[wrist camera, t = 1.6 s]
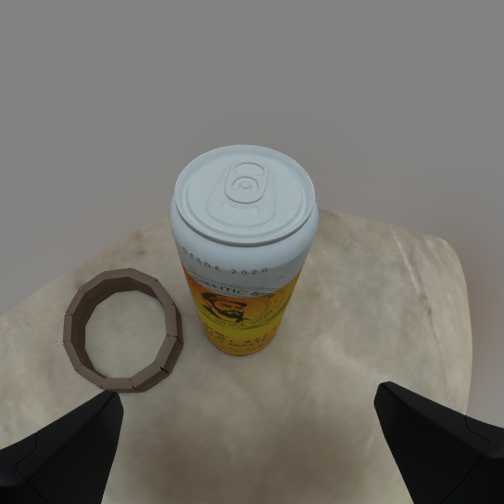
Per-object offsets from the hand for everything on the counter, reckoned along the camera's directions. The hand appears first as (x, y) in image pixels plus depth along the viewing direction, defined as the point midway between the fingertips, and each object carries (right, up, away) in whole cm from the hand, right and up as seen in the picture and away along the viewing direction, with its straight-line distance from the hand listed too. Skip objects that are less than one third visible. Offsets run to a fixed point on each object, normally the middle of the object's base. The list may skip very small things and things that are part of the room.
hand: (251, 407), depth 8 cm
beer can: (-1, -1, +15) cm, 15 cm away
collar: (-11, -2, +13) cm, 17 cm away
